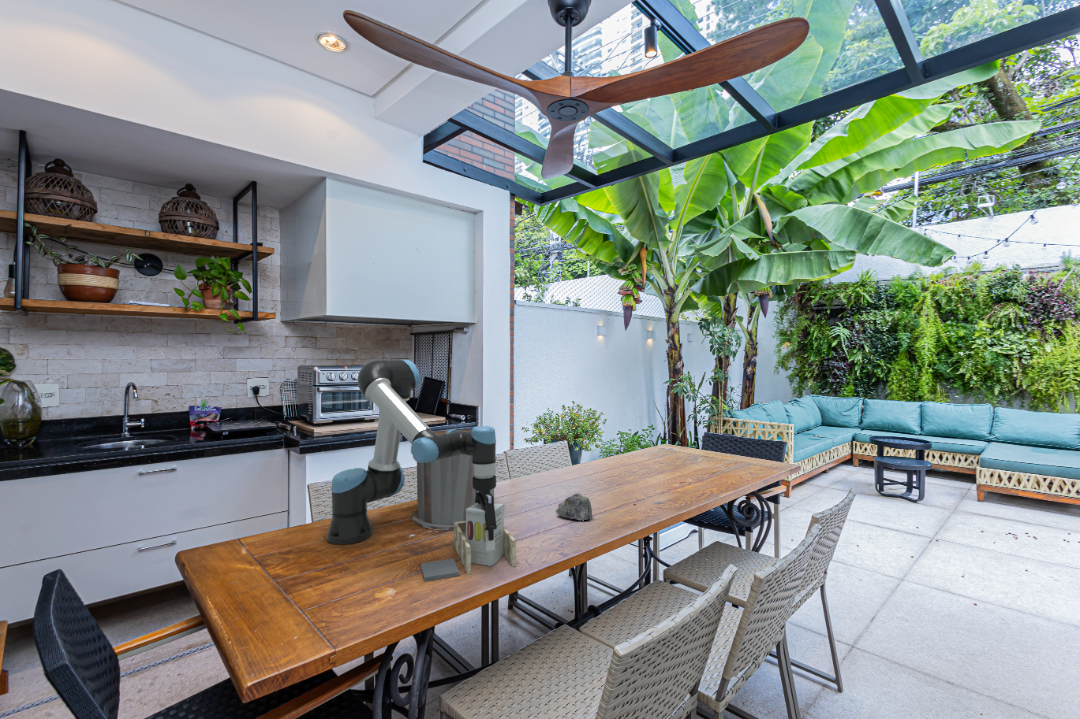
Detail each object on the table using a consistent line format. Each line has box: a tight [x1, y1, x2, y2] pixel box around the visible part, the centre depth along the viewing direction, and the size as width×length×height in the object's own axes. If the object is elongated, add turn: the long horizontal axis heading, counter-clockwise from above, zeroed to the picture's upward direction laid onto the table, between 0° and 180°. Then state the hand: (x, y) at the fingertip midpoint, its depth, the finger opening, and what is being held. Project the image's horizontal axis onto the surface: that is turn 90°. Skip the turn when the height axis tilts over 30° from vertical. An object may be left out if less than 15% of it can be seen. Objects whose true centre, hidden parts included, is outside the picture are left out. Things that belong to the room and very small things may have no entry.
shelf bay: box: [453, 521, 517, 575], centre depth 157 cm, size 23×15×8 cm, turn 20°
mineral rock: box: [555, 493, 593, 522], centre depth 192 cm, size 13×11×10 cm
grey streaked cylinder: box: [411, 429, 495, 530], centre depth 196 cm, size 35×35×32 cm
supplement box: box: [466, 502, 505, 567], centre depth 155 cm, size 10×9×17 cm
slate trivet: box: [420, 558, 460, 583], centre depth 146 cm, size 10×10×1 cm
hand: (485, 542), depth 155 cm, fingers closed on supplement box, 13 cm apart
